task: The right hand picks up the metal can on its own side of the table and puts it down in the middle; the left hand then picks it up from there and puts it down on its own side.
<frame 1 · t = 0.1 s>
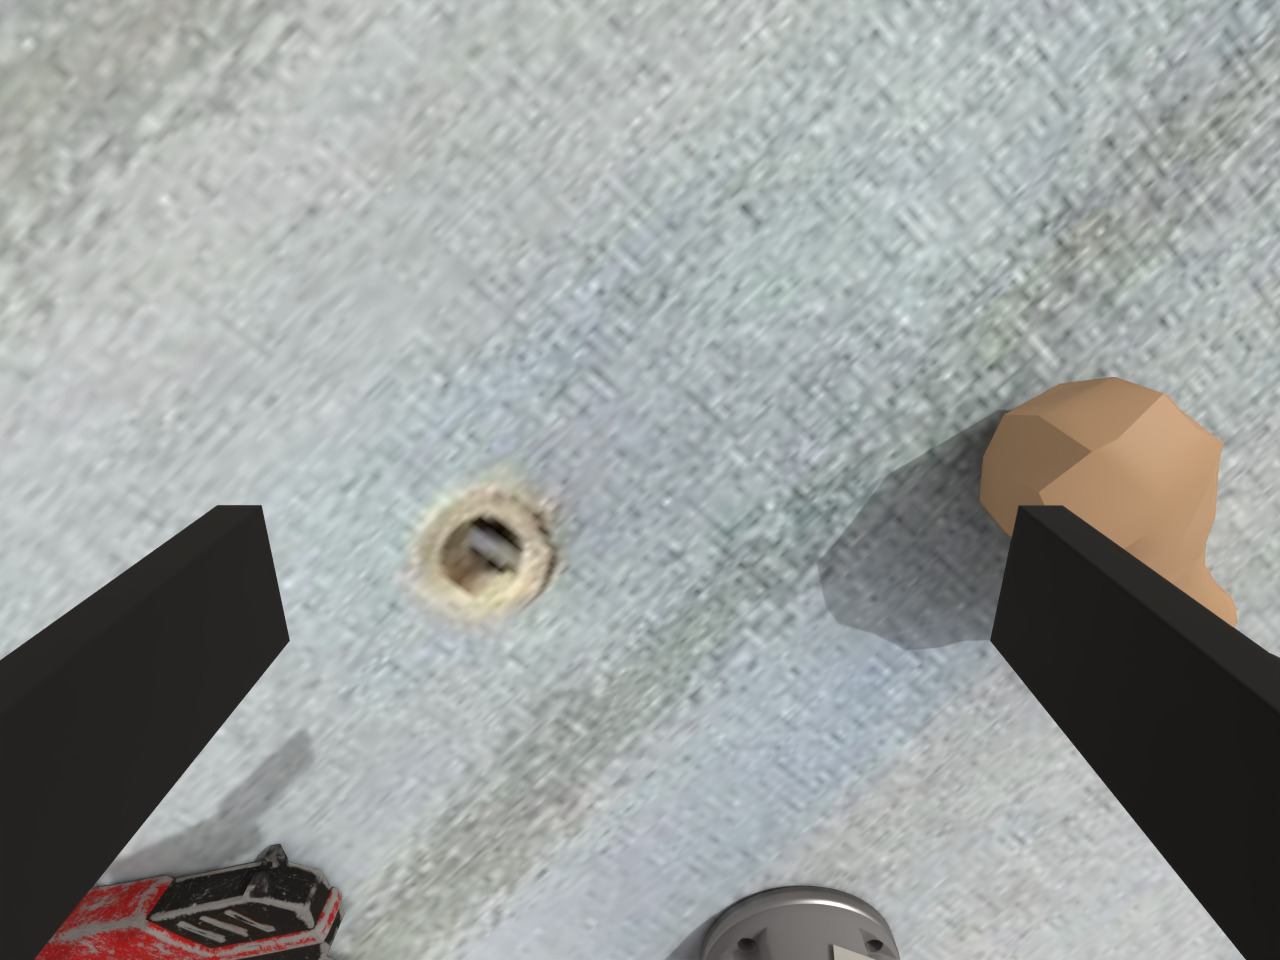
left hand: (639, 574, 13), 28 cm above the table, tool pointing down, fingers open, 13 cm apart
squash: (1093, 503, 43), on the table
gun: (179, 954, 57), on the table
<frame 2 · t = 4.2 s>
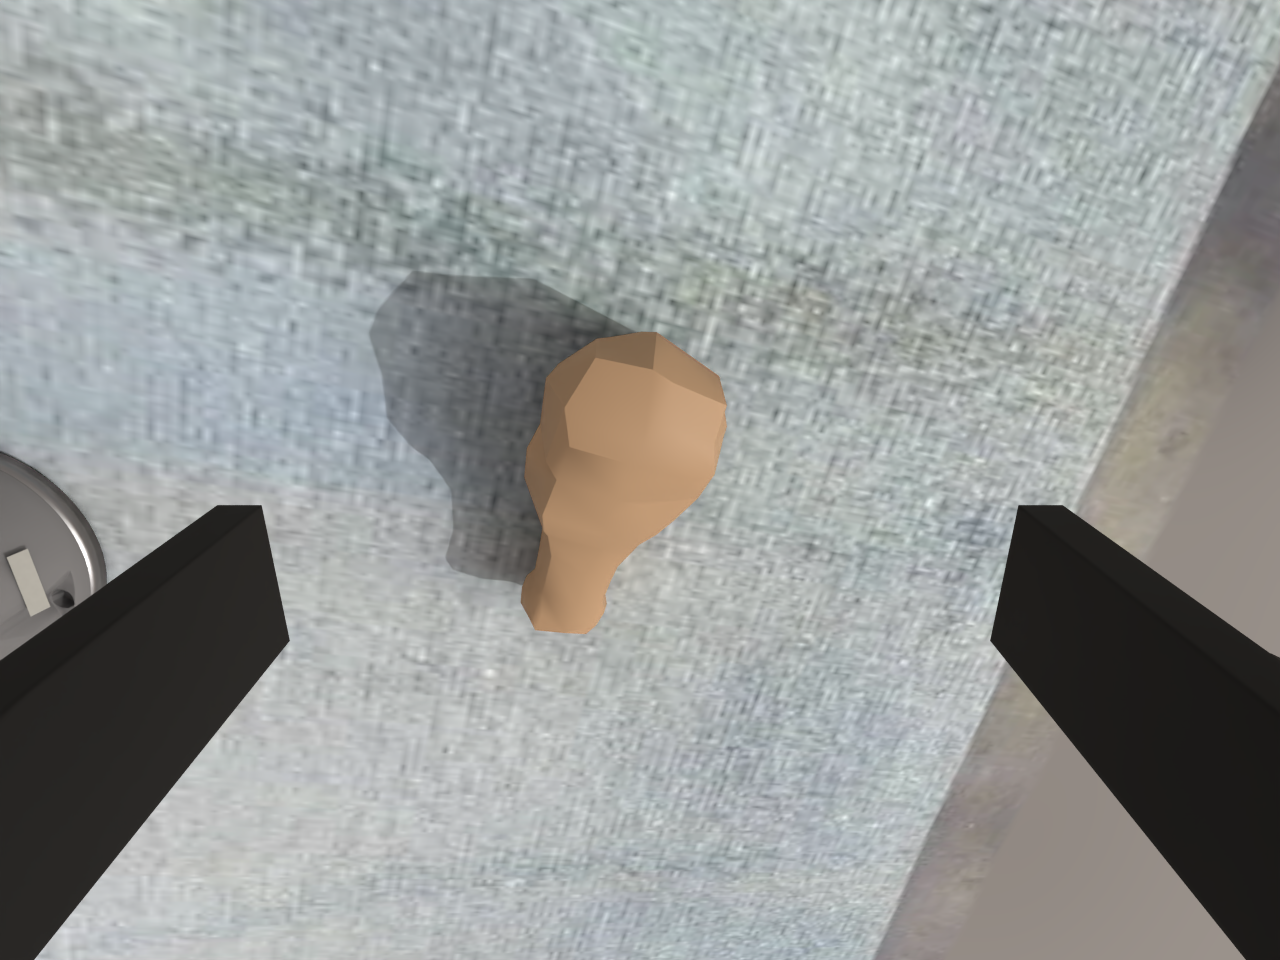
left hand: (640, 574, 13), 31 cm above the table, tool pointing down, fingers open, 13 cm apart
squash: (612, 472, 45), on the table
when the right hand's fingers open (5 cm above the table, at t = 11.7 s): can drops 2 cm, on the table.
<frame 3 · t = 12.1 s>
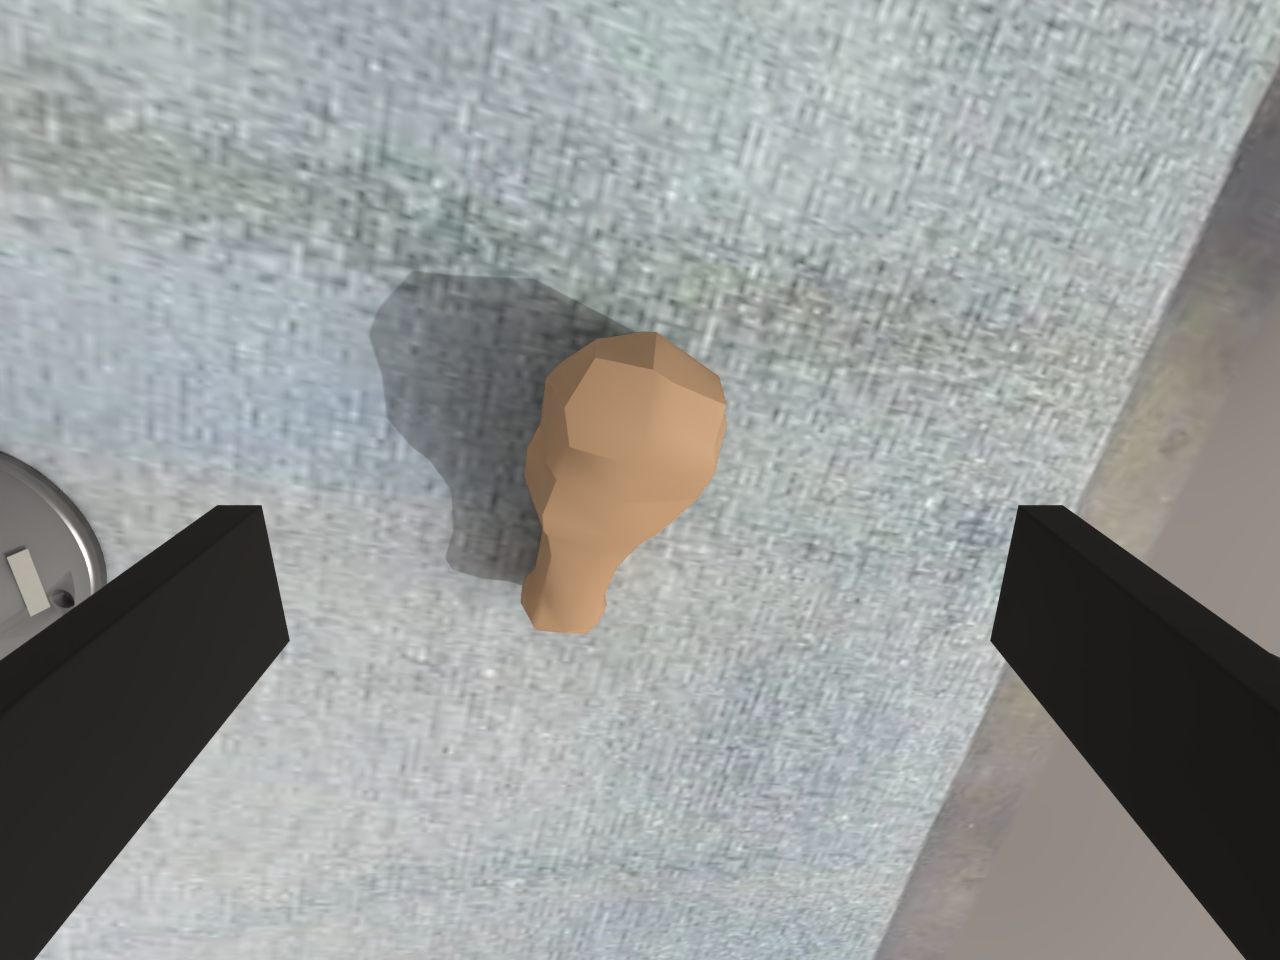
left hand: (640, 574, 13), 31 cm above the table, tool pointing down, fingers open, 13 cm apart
squash: (612, 472, 45), on the table
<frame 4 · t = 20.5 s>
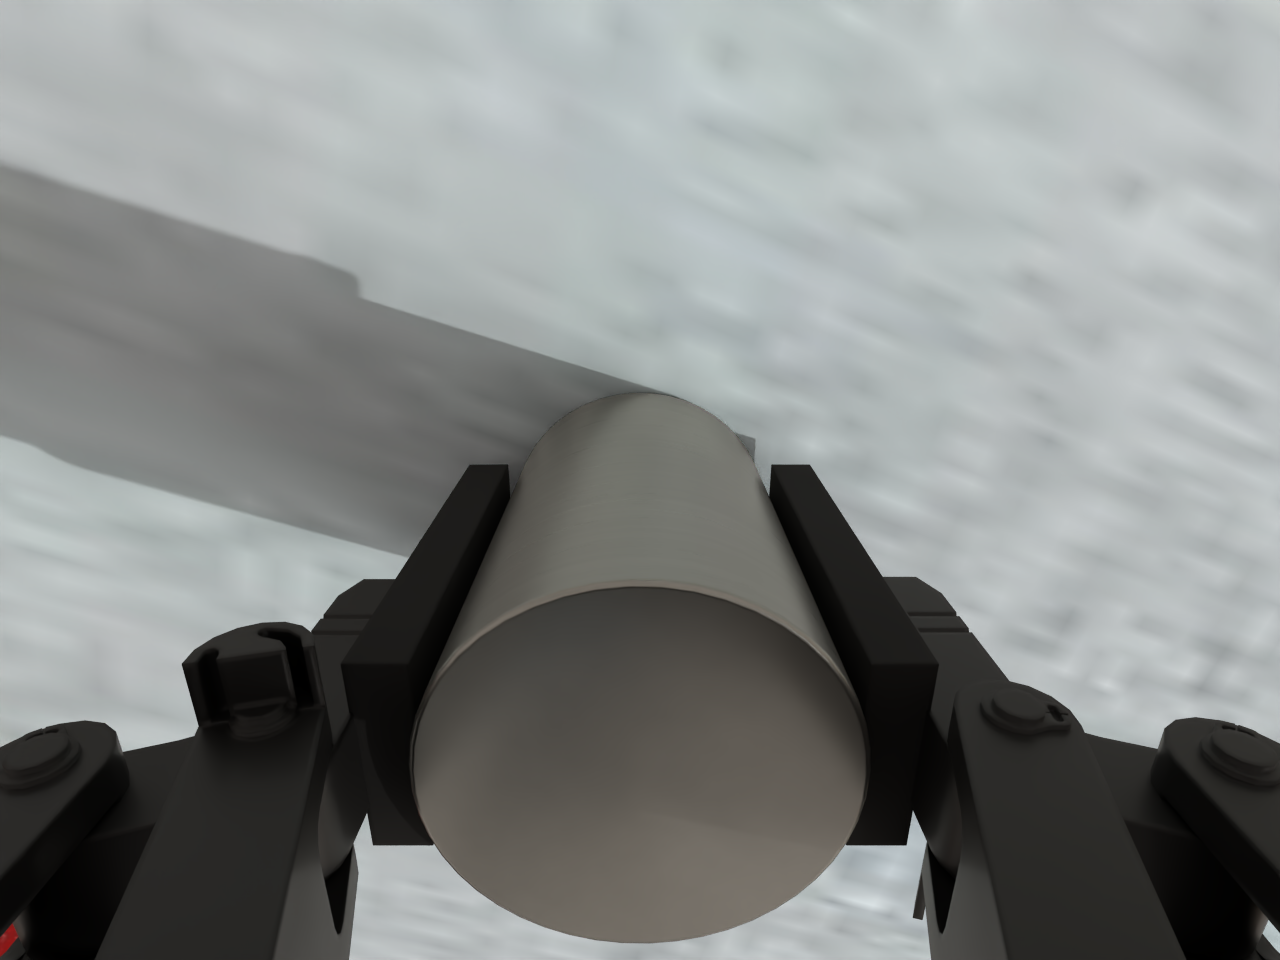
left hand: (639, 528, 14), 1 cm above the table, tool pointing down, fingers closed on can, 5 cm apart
can: (639, 511, 15), on the table, touching left hand
when the left hand's fingers open (3 cm above the table, at t = 28.9 s): can drops 2 cm, on the table.
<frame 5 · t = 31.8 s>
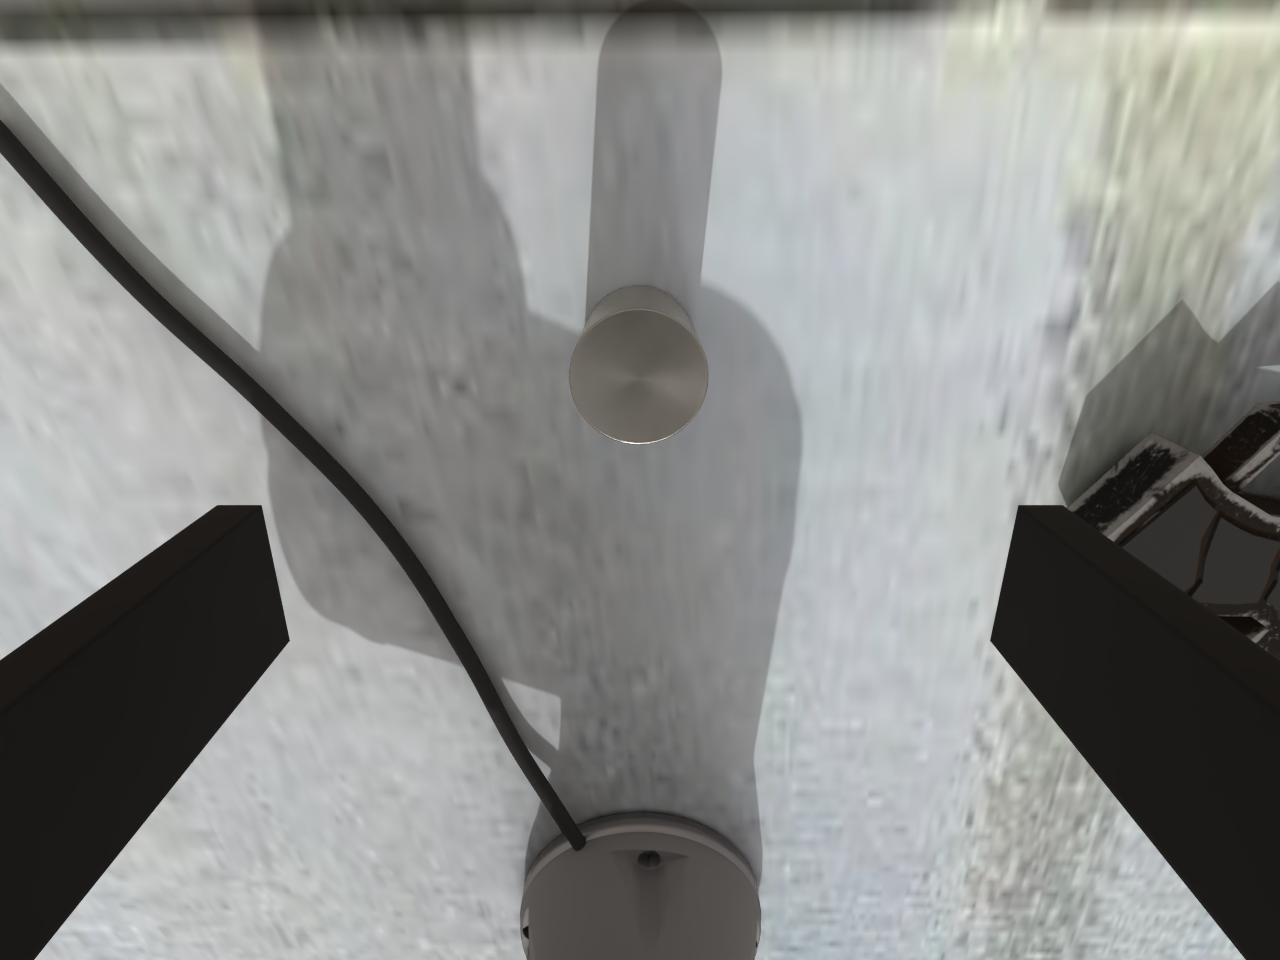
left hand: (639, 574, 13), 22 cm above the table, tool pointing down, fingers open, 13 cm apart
can: (639, 341, 34), on the table
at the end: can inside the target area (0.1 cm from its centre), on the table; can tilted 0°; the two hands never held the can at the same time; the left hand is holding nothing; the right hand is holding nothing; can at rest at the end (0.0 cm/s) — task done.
